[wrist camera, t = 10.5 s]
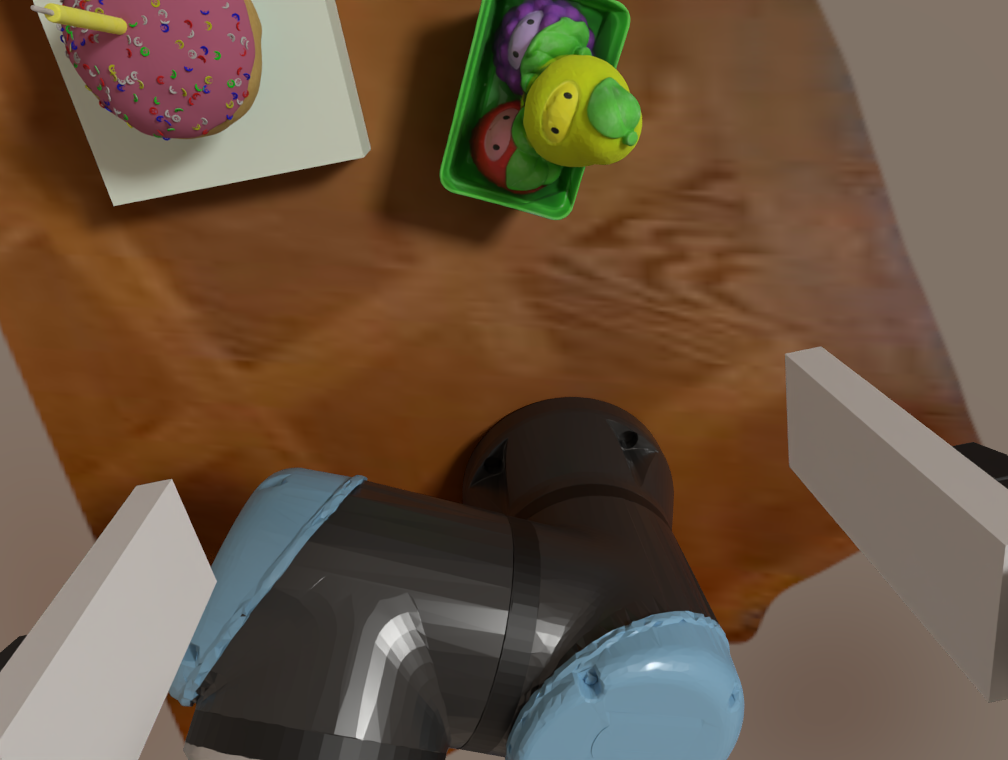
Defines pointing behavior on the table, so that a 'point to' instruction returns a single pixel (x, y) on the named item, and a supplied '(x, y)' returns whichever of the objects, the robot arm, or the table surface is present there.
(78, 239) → the table surface
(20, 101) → the table surface
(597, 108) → the fruit basket
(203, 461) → the table surface
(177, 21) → the cupcake
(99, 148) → the sage stand
